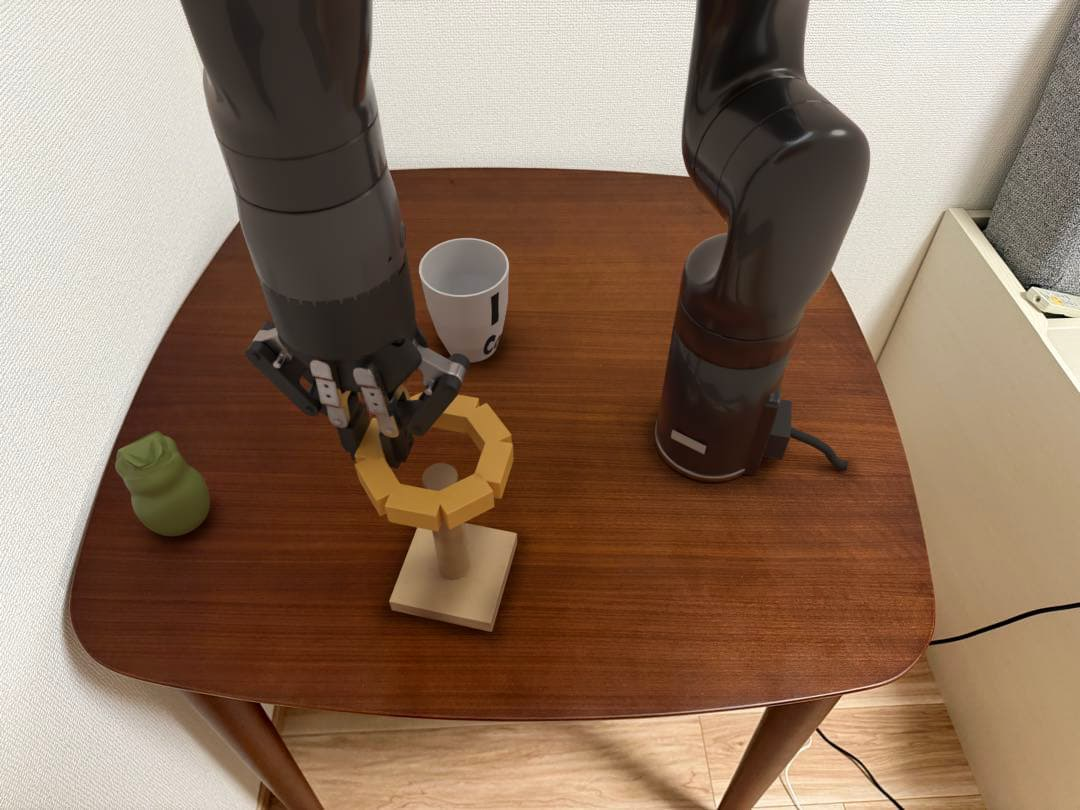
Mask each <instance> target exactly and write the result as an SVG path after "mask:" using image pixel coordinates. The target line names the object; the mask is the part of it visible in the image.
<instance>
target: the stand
mask: <svg viewBox="0 0 1080 810" xmlns="http://www.w3.org/2000/svg"><path fill="white" fill-rule="evenodd" d="M459 481H460V480H459V474H458V471H457V469H456V468H455V467H454V466H452V465H451V464H449V463H446V462H437V463H434V464H431V465H429V466H428V467H427V468H426V469H425V470H424V471H423V473H422V476H421V484H422V488H424V489H429V490H434V491H440V490H442V489H444V488H446V487H448V486H450V485H453V484H455V483H457V482H459ZM517 545H518V534H517V532H513V531H508V530H502V529H498V528H492V527H487V526H482V525H479V524H478V525H477V524H473V523H467V522H464V523H462V524H460V525H458V526H456V527H454V528H452V529H450V530H449V529H448V527H447V526H446V524H445V523H444V521H443V520H442V522H441V525H440V528H439V531H438V532H437V531H432V530H427V529H422V528H417V527H416V530H415V533H414V536H413V538H412V540H411V543H410V545H409V548H408V551H407V553H406V555H405V559H404V561H403V563H402V566H401V569H400V572H399V574H398V577H397V579H396V582H395V585H394V586H393V590H392V593H391V595H390V598H389V601H388V602H389V606H390V609H391V611H394V612H399V613H403V614H407V615H412V616H416V617H420V618H425V619H430V620H435V621H439V622H444V623H448V624H454V625H458V626H462V627H467V628H472V629H477V630H482V631H484V632H490V633H491V632H493V629H494V626H495V623H496V619H497V615H498V612H499V608H500V604H501V602H502V597H503V594H504V591H505V587H506V584H507V580H508V577H509V573H510V570H511V565H512V563H513V559H514V556H515V552H516V548H517Z"/></svg>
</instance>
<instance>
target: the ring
mask: <svg viewBox="0 0 1080 810" xmlns="http://www.w3.org/2000/svg"><path fill="white" fill-rule="evenodd" d="M422 392H423V391H422ZM422 392H419V393H417V394H414V395H413V396H410V400H418V398H419V396H420V395H421V393H422ZM432 428H434V429H440V430H446V431H452V432H455V433H456V432H457V433H461V434H467V435H468V436H469V438H471V440H472V441H473V443H474V444H475V446H476V447H477V448H478V450H479V451H480V456H479V459H478V461H477V465H476V468H475V471H474V473H473V474H471V475H469V476H466V477H465V478H463V479H461V480H459V482H457V483H455V484H453V485H450V486H448V487H446V488H444V489H442V490H440V491H434V490H429V489H424V488H423V487H419V486H415V485H414V486H413V485H408V484H404V483H400V481H399V480H398V478H397V476H396V475H395V473H394V471H393V470H392V468H391V467H389V465H388V464H387V462H386V459H385V455H384V453H383V450H382V446H381V442H380V438H379V433H380V428H379V425H378V422H377V419H376V417H372V418H371V419H370V424H369V427H368V429H367V431H366V433H365V435H364V437H363V439H362V441H361V443H360V446H359V448H358V449H357V451H356V453H355V459H356V461H355V463H354V468H355V471H356V475H357V478H358V481H359V483H360V485H361V486H362V488H363V489H364V491H365V493H366V495H367V497H368V498H369V500H370V502H371V503H372V505H373V506H374V508H375V510H376V511H377V514H378V515H379V516H380V517H382V516H384V515H386V517H387V521H388V522H389V523H394V524H397V525H398V524H399V525H403V526H408V527H412V528H416V529H417V528H422V529H427V530H432V531H437V532H438V531H439V528H440V525H441V522H442V520H443V521H444V523H445V524H446V526H447V527H448V529H449V530H450V529H452V528H454V527H456V526H458V525H460V524H462V523H467V522H468V521H470V520H472V519H474V518H476V517H477V516H479V515H481V514H484V513H486V512H487V511H489V510H491V509H493V508H495V499H498V500H499V499H500V500H501V499H502V498H503V495H504V492H505V489H506V485H507V484H508V483H507V482H508V480H509V476H510V473H511V470H512V467H513V464H514V458H515V457H514V444H513V441H512V440H513V438H512V433H511V432H510V431H509V429H508V428H507V427H506V426H505V424H504V423H503V422H502V420H501V419H500V418H499V416H498V415H497V414H496V413H495V412H494V410H493V409H492V407H491V406H490V405H489V403H487V402H486V403H483V404H482V405H480V398H479V397H474V396H470V395H469V396H468V395H462V394H458V395H457V397H456V398H455V399H454V400H453V402H452V403H451V404H450V405H449V406H448V408H447V409H446V410H445V411H444V412H443V413H442V415H441V416H440V417H439V418H438V419H437V420H436V422H435V423H434V424H433V425H432V426H431V428H430V429H432ZM414 436H415V435H413V437H414ZM415 437H416V436H415Z"/></svg>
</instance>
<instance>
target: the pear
mask: <svg viewBox="0 0 1080 810" xmlns="http://www.w3.org/2000/svg"><path fill="white" fill-rule="evenodd" d="M114 466H115V470H116V472H117V474H118V475H119V476H120V477H121V479H122V480H123V482H124V484H125V487H126V488H127V490H128V491H129V493H130V496H131V497H130V498H131V499H130V500H131V507H132V509H133V513H134V515H135V516H136V517H137V518H138V520H139V521H140V522H141V523H142V524H143V525H144V526H145V527H146V528H147V529H148V530H150V531H151V532H153V533H155V534H158V535H160V536H164V537H179V536H183V535H186V534H188V533H191V532H192V531H194V530H195V529H197V528H198V527H200V525H202V523H203V522H204V521H205V520H206V518H207V516H208V514H209V511H210V506H211V495H210V490H209V487H208V484H207V482H206V480H205V479H204V477H203V475H201V473H200V472H199V471H198V470H197V469H196V468H194V467H192V466H191V465H189V464H188V463H187V462H186V459H185V458H184V457H183V456H182V454H181V453H180V452H179V450H178V446H177V444H176V442H175V440H174V439H173V438H172V437H170V436H167V435H164V434H163V433H162V432H161V431H158V430H155V431H153V432H151V433H148V434H147V435H145V436H143V437H141V438H139V439H137V440H135V441H134V442H131V443H129V444H127V445H125V446H123V447H121V448H119V449H118V450H117V453H116V460H115V464H114Z"/></svg>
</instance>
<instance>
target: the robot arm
mask: <svg viewBox="0 0 1080 810" xmlns="http://www.w3.org/2000/svg"><path fill="white" fill-rule="evenodd" d="M179 2H180V5H181V7H182V8H181V9H182V11H183V13H184V16H185V19H186V21H187V25H188V28H189V30H190V33H191V36H192V39H193V41H194V43H195V47H196V49H197V52H198V55H199V58H200V61H201V63H202V66H203V68H202V88H203V94H204V99H205V104H206V109H207V112H208V116H209V119H210V122H211V126H212V130H213V132H214V135H215V138H216V141H217V143H218V146H219V149H220V152H221V155H222V158H223V161H224V164H225V168H226V170H227V174H228V176H229V179H230V182H231V185H232V189H233V193H234V197H235V203H236V209H237V215H238V219H239V225H240V228H241V231H242V234H243V236H244V241H245V243H246V246H247V249H248V252H249V255H250V258H251V262H252V264H253V267H254V270H255V273H256V276H257V278H258V282H259V284H260V287H261V290H262V293H263V296H264V299H265V302H266V305H267V307H268V310H269V313H270V317H271V319H272V321H271V320H267V321H264V323H263V324H262V326H261V327H260V329H259V331H258V332H257V334H256V335H255V337H254V338H253V340H252V341H251V343H250V344H249V346H248V347H247V349H246V351H245V352H244V354H245V357H246V358H247V360H249V361H250V363H252V365H254V366H255V367H256V368H257V369H258V370H259V372H261V373H262V374H263V375H264V377H266V378H267V380H269V381H270V382H271V383H272V384H273V385H274V386H275V387H276V388H277V389H278V390H279V391H280V392H281V393H282V394H284V396H286V398H288V399H289V401H291V402H292V404H294V405H295V406H296V407H297V408H298V409H299V410H300V411H301V412H302V413H303V414H304V415H306V416H309V417H317V416H318V415H319V413H320V414H322V415H324V416H326V417H328V421H329V423H330V424H332V425H333V426H334V427H335V428H336V430H337V431H336V432H337V434H338V437H339V441H340V444H341V447H342V448H343V449H344V451H345V452H347V453H349V455H350V458H351V460H352V461H355V462H356V459H355V453H356V451H357V449H358V448H359V446H360V443H361V441H362V439H363V437H364V435H365V433H366V431H367V429H368V427H369V424H370V422H371V419H370V416H369V415H373V416H374V417H375V418H376V419H377V422H378V425H379V428H380V433H379V438H380V442H381V446H382V450H383V453H384V455H385V459H386V462H387V464H388V465H389V467H390V468H391V469H399V468H400V466H401V464H402V463H404V464H405V463H406V462H407V461H408V459H409V456H410V454H411V451H412V448H413V446H414V444H415V437H423V436H425V435H426V434H427V433H428V431H429V430H431V429H432V428H431V426H432V425H433V424H434V423H435V422H436V420H437V419H438V418H439V417H440V416H441V415H442V413H443V412H444V411H445V410H446V409H447V408H448V406H449V405H450V404H451V403H452V402H453V400H454V399H455V398H456V397H457V395H459V393H460V391H461V388H462V385H463V383H464V381H465V379H466V375H467V373H468V370H469V367H470V365H471V362H470V361H469V359H468V358H467V357H466V356H464V355H462V354H459V353H455V354H452V355H449V357H448V358H447V357H446V356H445V357H444V356H443V355H441V354H440V353H438V352H436V351H434V350H432V349H431V348H429V342H428V339H427V336H426V334H425V333H424V332H423V331H422V329H421V328H420V327H419V324H418V323H417V319H416V301H415V294H414V287H413V282H412V276H411V269H410V264H409V257H408V250H407V243H406V242H407V232H406V231H407V230H406V226H405V224H404V222H403V220H402V214H401V207H400V203H399V198H398V193H397V190H396V186H395V182H394V181H393V178H392V175H391V172H390V168H389V163H388V160H387V156H386V155H387V154H386V153H387V152H386V148H385V142H384V136H383V130H382V124H381V118H380V111H379V105H378V99H377V96H376V90H375V87H374V86H375V85H374V83H373V78H372V74H371V58H372V51H373V22H374V21H373V20H374V19H373V17H374V16H373V14H374V13H373V11H374V10H373V9H374V0H179ZM810 2H811V0H696V1H695V13H694V22H693V23H694V24H693V32H692V39H691V40H692V41H691V51H690V57H689V64H688V72H687V78H686V79H687V80H686V88H685V96H684V101H683V102H684V104H683V111H682V121H681V136H680V137H681V139H680V140H681V141H680V142H681V144H680V146H681V155H682V159H683V164H684V168H685V170H686V172H687V175H688V177H689V179H690V180H691V182H692V183H693V185H694V186H695V188H696V189H697V191H699V193H700V194H701V195H702V197H704V198H705V200H706V201H707V202H708V203H709V204H710V206H711V207H712V208H713V209H714V210H715V212H716V213H718V215H719V216H720V217H721V218H722V219H723V221H724V222H725V223H726V224H727V232H724V233H719V234H716V235H713V236H710V237H707V238H706V239H704V240H702V241H700V242H699V243H697V244H696V246H695V247H693V248H692V250H691V251H690V252H689V253H688V255H687V257H686V259H685V261H684V263H683V266H682V267H683V268H682V270H681V277H680V283H679V290H678V295H677V302H676V307H675V315H674V318H673V319H674V320H673V326H672V331H671V338H670V343H669V348H668V354H667V355H668V356H667V361H666V367H665V372H664V373H665V374H664V378H663V383H662V384H663V385H662V390H661V395H660V402H659V408H658V413H657V418H656V420H655V421H656V422H655V424H654V425H655V426H654V434H653V440H654V444H655V447H656V450H657V452H658V454H659V455H660V457H661V458H662V460H663V461H664V462H665V463H666V464H667V465H668V466H669V467H670V468H671V469H673V470H674V471H676V472H677V473H679V474H680V475H682V476H684V477H687V478H690V479H692V480H696V481H700V482H705V483H722V482H723V483H724V482H727V481H732V480H734V479H737V478H739V477H741V476H743V475H747V476H753V477H755V476H756V475H758V471H759V468H760V466H761V463H762V460H763V457H765V458H772V459H776V460H783V458H784V456H785V453H786V451H787V447H788V445H789V442H790V439H791V438H792V439H794V440H796V441H799V442H801V443H804V444H806V445H808V446H810V447H813V448H814V449H816V450H817V451H819V452H821V453H822V454H823V455H824V456H825V457H826V459H827V460H828V462H829V463H830V464H831V465H832V466H833V467H835V468H836V469H838V470H841V471H847V470H848V466H849V461H848V460H843V459H841V458H839V456H838V455H837V453H836V452H835V450H834V449H833V448H832V447H831V446H830V445H829V444H827V442H825V441H823V440H821V439H819V438H817V437H816V436H814V435H811V434H809V433H807V432H805V431H802V430H799V429H798V428H795V427H792V410H793V409H792V408H793V406H792V405H793V401H792V400H788V399H783V398H782V383H783V380H784V376H785V373H786V370H787V367H788V364H789V361H790V358H791V354H792V352H793V348H794V346H795V343H796V340H797V338H798V337H797V336H798V334H799V331H800V327H801V325H802V322H803V319H804V315H805V313H806V310H807V307H808V305H809V303H810V302H811V301H812V300H813V299H814V297H815V296H816V295H817V294H818V292H819V291H820V289H821V288H822V287H823V286H824V284H825V282H826V281H827V279H828V277H829V276H830V274H831V272H832V270H833V268H834V265H835V263H836V259H837V257H838V255H839V252H840V250H841V247H842V245H843V244H844V240H845V238H846V236H847V234H848V231H849V229H850V226H851V224H852V222H853V220H854V217H855V214H856V212H857V210H858V208H859V206H860V203H861V200H862V197H863V194H864V193H865V189H866V185H867V182H868V179H869V173H870V167H871V148H870V143H869V140H868V138H867V136H866V134H865V133H864V131H863V129H861V128H860V127H859V125H858V124H857V123H855V122H854V121H853V120H852V119H851V118H850V117H849V116H847V115H846V114H845V113H844V112H843V111H842V110H840V109H839V108H838V106H836V105H835V104H834V103H832V102H831V100H829V99H828V98H827V97H826V96H825V95H823V94H822V93H821V92H819V91H818V90H817V89H816V88H815V87H814V86H812V85H811V84H810V83H809V82H808V79H807V75H806V70H805V42H806V31H807V24H808V18H809V10H810ZM416 370H419V371H420V372H421V373H422V380H421V382H422V384H423V386H424V387H425V388H424V390H423V391H422V393H421V392H420V393H421V395H420V396H419V398H418V400H410V397H411V396H410V393H409V391H408V390H409V389H408V385H407V384H408V380H409V379H408V378H410V377H411V375H413V373H415V372H416ZM301 378H303V379H305V380H306V381H307V382H308V383H309V384H310V386H309V388H308V390H307V389H306V388H305V387H304V386H303V385H302V384H301ZM362 396H363V399H364V402H360V401H361V399H362ZM413 435H415V437H414V436H413Z"/></svg>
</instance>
